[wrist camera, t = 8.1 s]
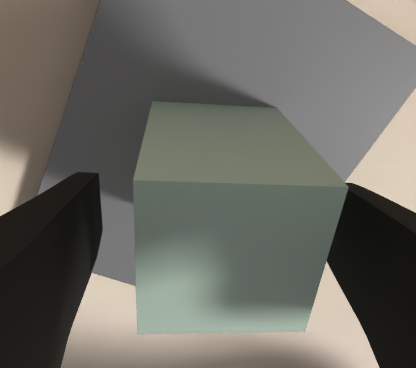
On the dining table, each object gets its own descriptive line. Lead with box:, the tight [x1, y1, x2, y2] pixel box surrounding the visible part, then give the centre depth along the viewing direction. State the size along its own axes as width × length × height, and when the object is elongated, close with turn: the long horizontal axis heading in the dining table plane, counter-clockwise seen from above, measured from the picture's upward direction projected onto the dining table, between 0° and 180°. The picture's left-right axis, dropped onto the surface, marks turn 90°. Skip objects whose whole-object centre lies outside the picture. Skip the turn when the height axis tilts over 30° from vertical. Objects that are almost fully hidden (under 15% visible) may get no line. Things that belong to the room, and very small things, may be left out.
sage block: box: [133, 101, 349, 334], centre depth 11 cm, size 4×4×6 cm
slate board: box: [37, 0, 416, 286], centre depth 14 cm, size 14×11×1 cm
